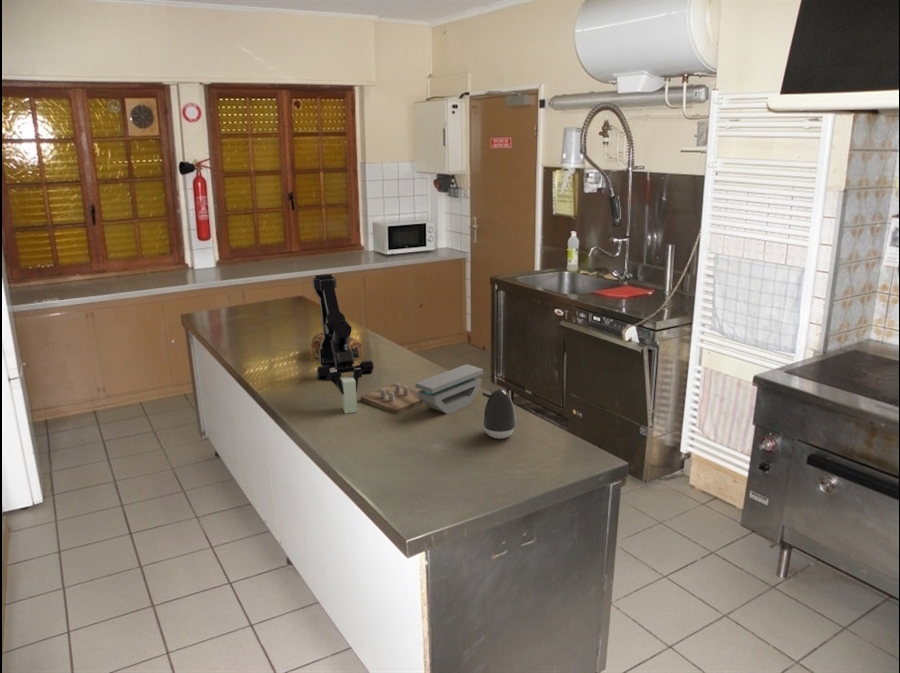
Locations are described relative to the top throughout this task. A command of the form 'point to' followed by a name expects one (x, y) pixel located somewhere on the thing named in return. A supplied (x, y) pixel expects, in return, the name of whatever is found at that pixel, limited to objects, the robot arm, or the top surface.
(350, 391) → the pale panelled upright block
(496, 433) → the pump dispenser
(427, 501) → the top surface
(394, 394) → the tan board with pegs
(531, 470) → the top surface
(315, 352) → the bread
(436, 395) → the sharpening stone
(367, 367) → the robot arm
